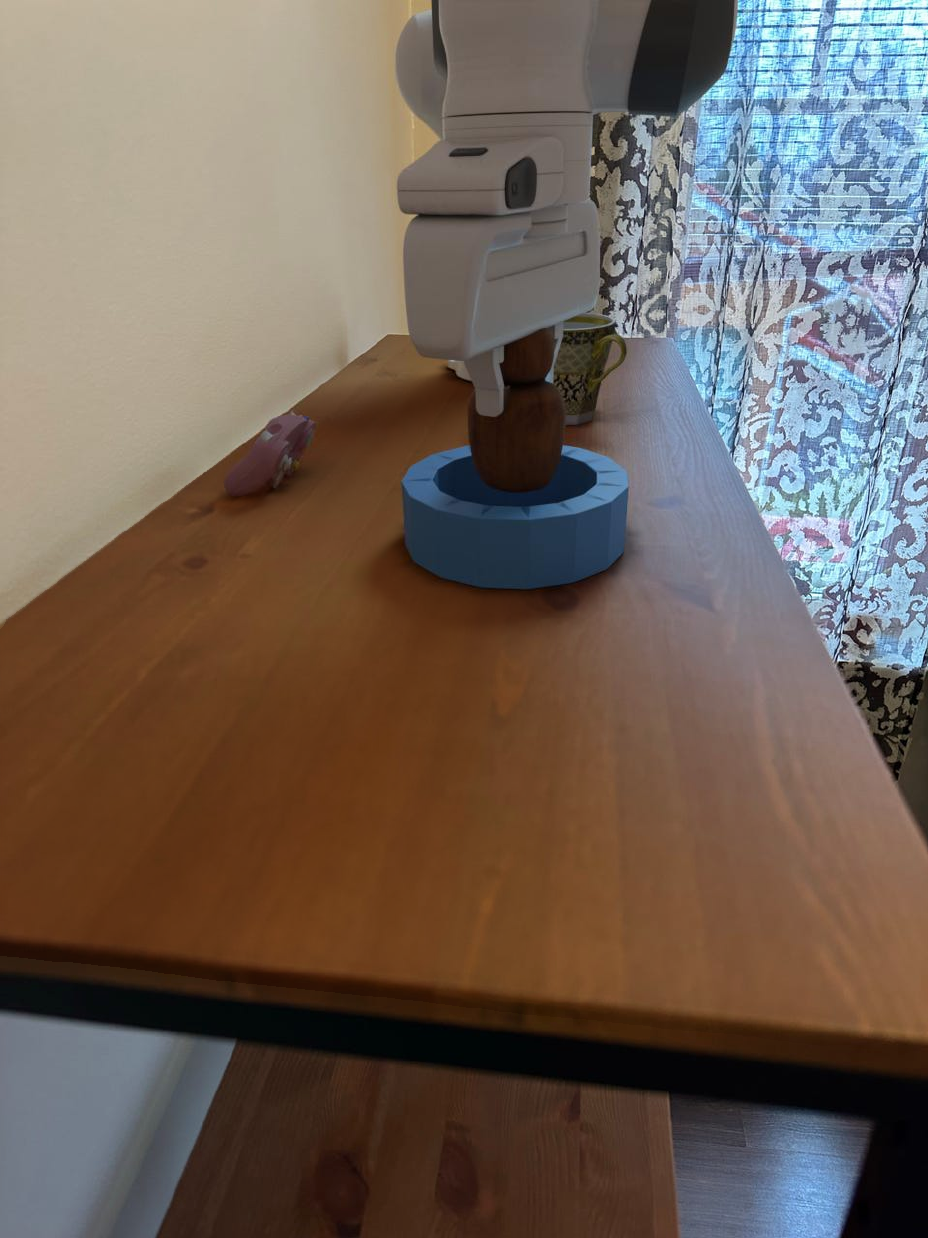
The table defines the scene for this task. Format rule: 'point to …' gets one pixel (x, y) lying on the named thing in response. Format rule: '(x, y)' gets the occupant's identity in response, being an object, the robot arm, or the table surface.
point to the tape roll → (515, 521)
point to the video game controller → (271, 455)
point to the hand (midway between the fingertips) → (516, 401)
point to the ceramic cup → (584, 363)
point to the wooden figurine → (521, 421)
